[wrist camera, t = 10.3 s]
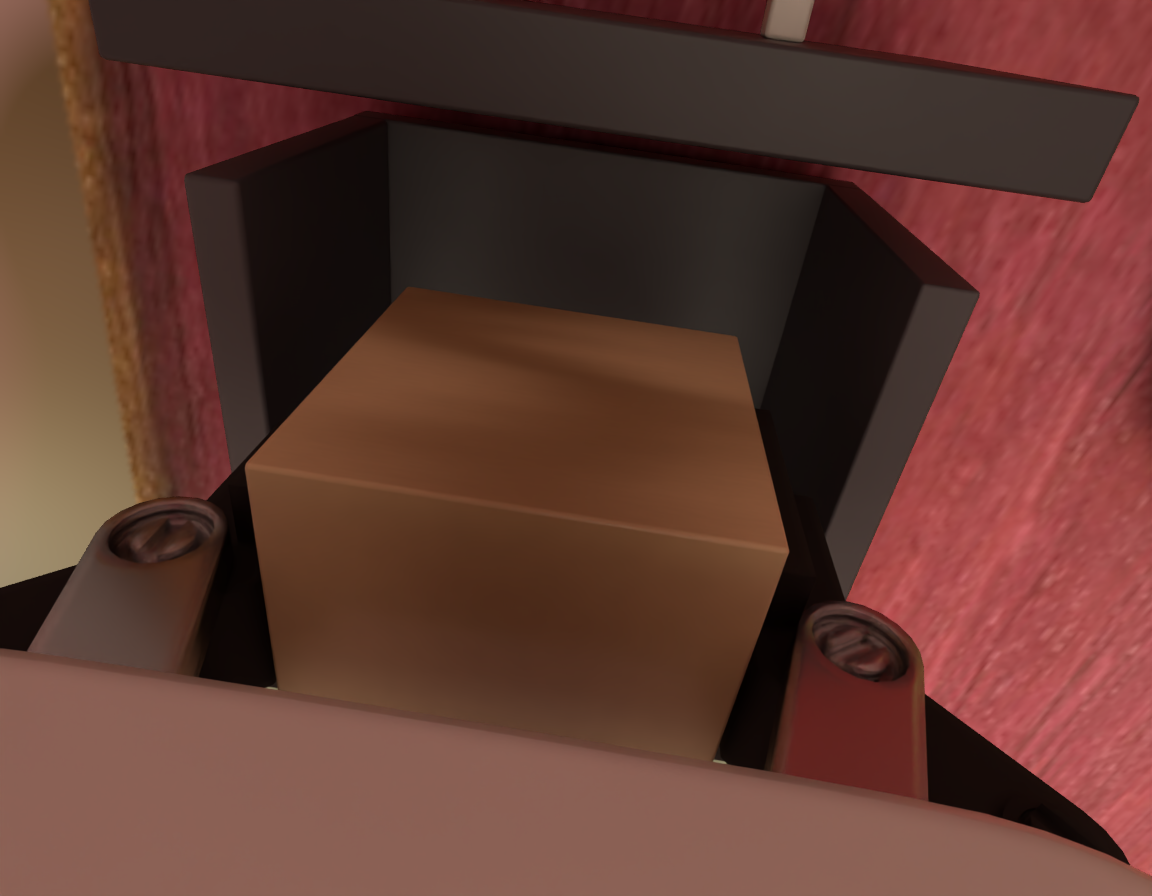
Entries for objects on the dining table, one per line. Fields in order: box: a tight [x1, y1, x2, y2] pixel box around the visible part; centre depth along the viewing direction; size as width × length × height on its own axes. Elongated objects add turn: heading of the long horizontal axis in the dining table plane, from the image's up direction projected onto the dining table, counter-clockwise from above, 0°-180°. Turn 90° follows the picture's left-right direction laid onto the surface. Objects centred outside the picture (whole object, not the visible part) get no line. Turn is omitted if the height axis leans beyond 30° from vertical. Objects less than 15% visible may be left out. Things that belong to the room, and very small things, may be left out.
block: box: [245, 287, 789, 762], centre depth 10 cm, size 5×5×5 cm
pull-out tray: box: [89, 0, 1139, 601], centre depth 14 cm, size 18×12×8 cm
